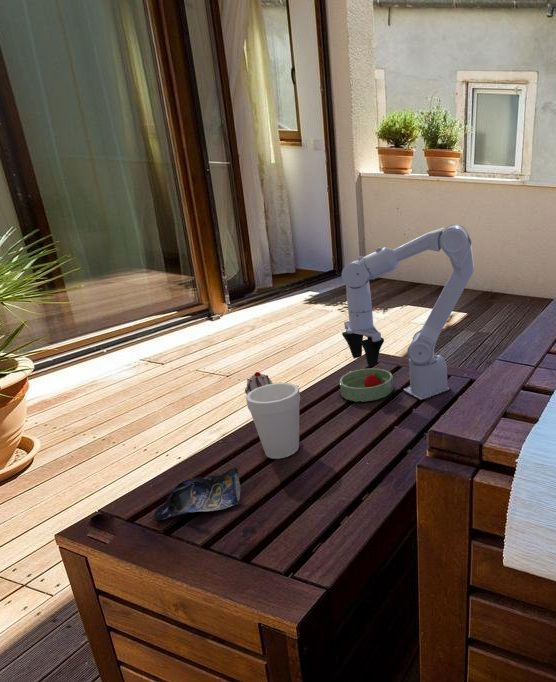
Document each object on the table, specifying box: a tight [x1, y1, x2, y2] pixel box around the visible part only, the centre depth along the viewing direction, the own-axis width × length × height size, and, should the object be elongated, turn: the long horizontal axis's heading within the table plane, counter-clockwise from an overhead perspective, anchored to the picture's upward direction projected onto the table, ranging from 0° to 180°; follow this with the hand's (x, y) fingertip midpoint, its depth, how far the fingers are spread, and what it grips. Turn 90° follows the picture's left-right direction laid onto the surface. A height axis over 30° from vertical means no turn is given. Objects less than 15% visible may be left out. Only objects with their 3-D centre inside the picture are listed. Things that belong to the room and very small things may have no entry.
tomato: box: [364, 373, 382, 388], centre depth 123 cm, size 4×4×5 cm
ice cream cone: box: [244, 371, 274, 395], centre depth 99 cm, size 6×6×15 cm
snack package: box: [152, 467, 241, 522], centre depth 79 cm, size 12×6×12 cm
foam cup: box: [245, 382, 301, 460], centre depth 94 cm, size 10×9×13 cm
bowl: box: [339, 367, 395, 402], centre depth 123 cm, size 13×13×4 cm
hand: (364, 361), depth 121 cm, fingers open, 7 cm apart
